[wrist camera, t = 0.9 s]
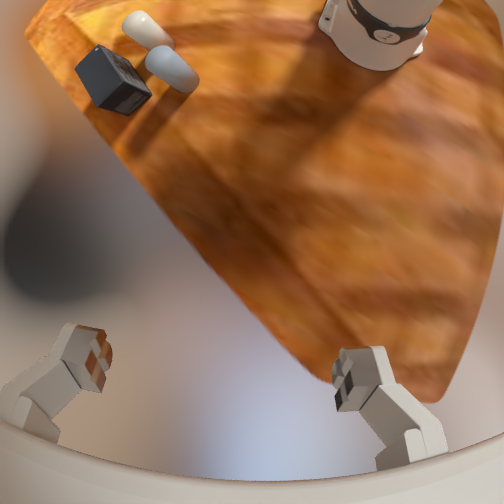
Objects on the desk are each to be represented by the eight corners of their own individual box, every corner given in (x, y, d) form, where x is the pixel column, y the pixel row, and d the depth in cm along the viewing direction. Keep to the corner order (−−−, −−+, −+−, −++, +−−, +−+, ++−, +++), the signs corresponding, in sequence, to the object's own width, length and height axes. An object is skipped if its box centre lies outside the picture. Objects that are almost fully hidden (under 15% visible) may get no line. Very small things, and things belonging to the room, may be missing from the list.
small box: (104, 81, 48) (71, 68, 38) (128, 59, 46) (99, 41, 36) (127, 118, 49) (94, 108, 39) (153, 94, 48) (124, 79, 38)
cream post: (156, 38, 45) (126, 12, 33) (177, 37, 45) (150, 9, 33) (151, 58, 46) (118, 35, 34) (172, 57, 46) (143, 32, 34)
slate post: (177, 70, 46) (148, 46, 34) (201, 70, 46) (176, 44, 34) (173, 93, 47) (142, 73, 36) (196, 93, 47) (170, 72, 35)
